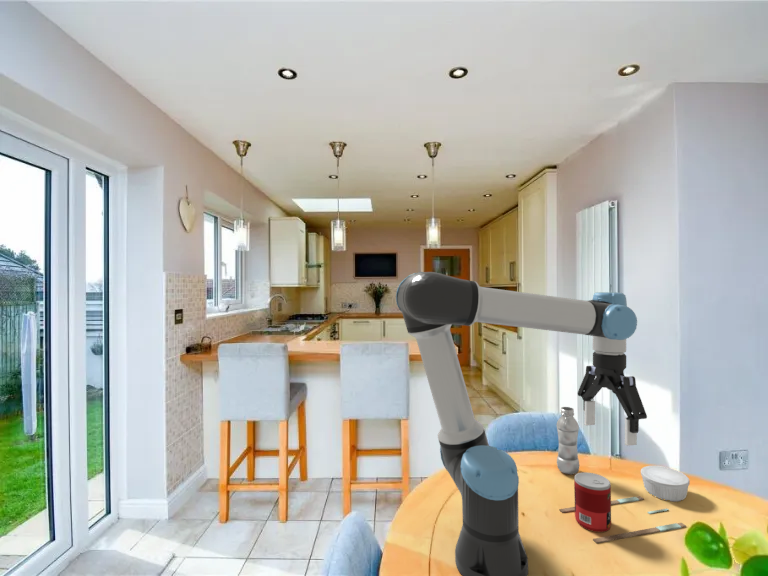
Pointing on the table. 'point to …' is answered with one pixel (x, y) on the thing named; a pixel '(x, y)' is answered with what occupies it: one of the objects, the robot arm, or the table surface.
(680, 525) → the guide strips
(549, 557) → the table surface
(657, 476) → the ramekin
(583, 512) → the canned food
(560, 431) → the plastic bottle
